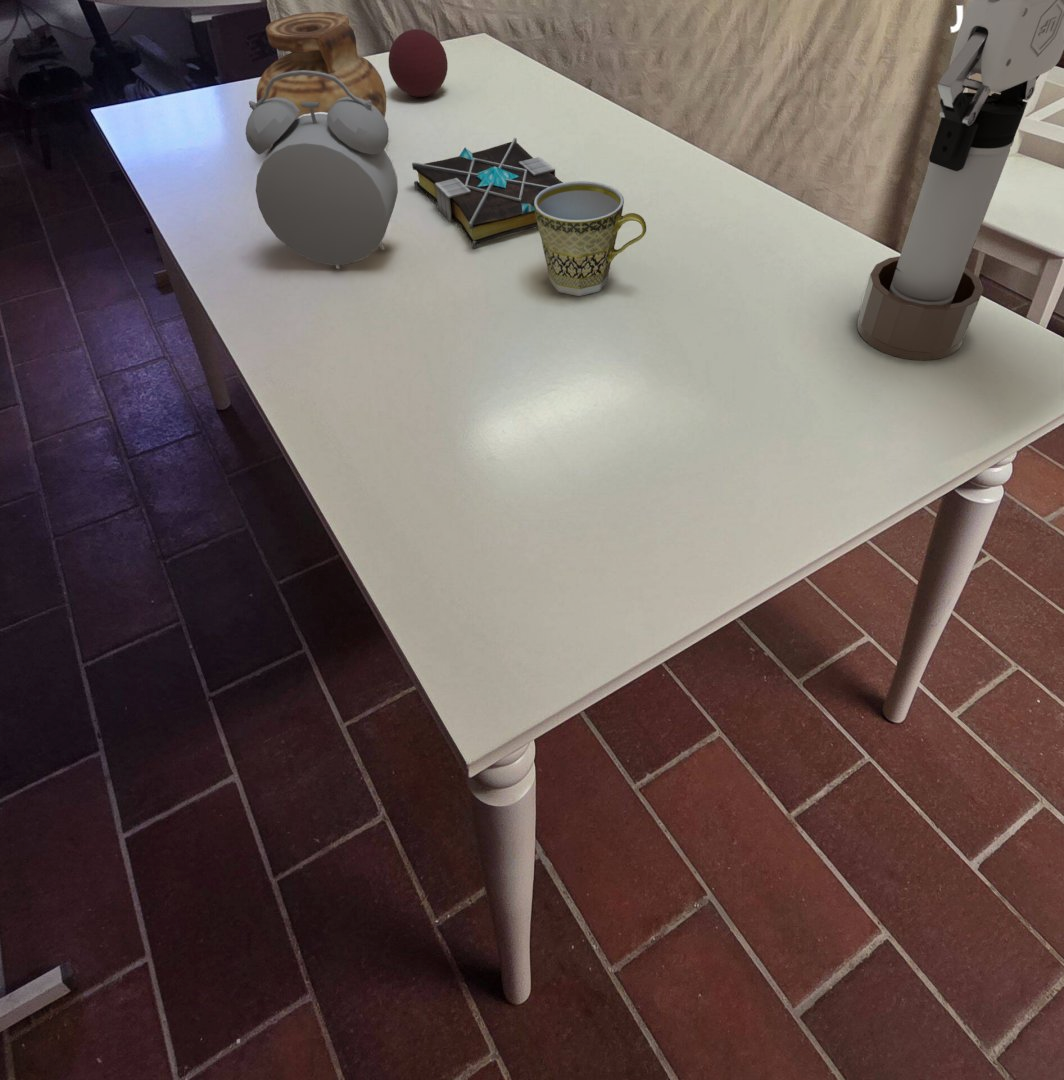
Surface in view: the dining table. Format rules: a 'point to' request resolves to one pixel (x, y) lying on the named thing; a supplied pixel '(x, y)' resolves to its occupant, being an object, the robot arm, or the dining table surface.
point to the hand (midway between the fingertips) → (970, 153)
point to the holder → (915, 317)
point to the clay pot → (319, 62)
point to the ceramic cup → (581, 233)
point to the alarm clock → (324, 174)
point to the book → (487, 189)
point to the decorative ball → (418, 63)
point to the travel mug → (954, 210)
